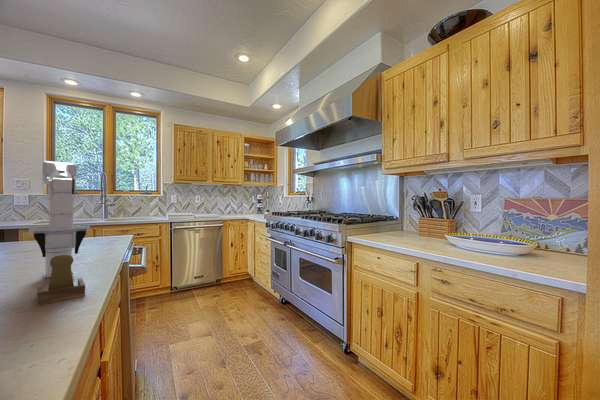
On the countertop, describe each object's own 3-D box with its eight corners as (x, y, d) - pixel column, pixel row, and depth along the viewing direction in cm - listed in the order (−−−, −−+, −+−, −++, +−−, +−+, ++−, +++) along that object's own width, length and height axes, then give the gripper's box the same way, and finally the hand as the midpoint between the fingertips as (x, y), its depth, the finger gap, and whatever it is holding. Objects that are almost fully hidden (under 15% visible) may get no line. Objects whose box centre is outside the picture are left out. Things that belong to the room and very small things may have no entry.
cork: (55, 296, 72) (56, 258, 72) (42, 293, 74) (42, 256, 74) (79, 289, 78) (80, 254, 78) (66, 287, 80) (67, 252, 80)
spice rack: (37, 295, 75) (38, 284, 75) (81, 287, 82) (81, 277, 82) (36, 305, 68) (37, 293, 68) (84, 296, 75) (85, 285, 75)
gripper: (28, 215, 75) (27, 260, 75) (91, 214, 85) (90, 253, 85) (29, 214, 80) (29, 256, 80) (88, 213, 90) (88, 250, 90)
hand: (60, 254), depth 83 cm, fingers open, 7 cm apart
